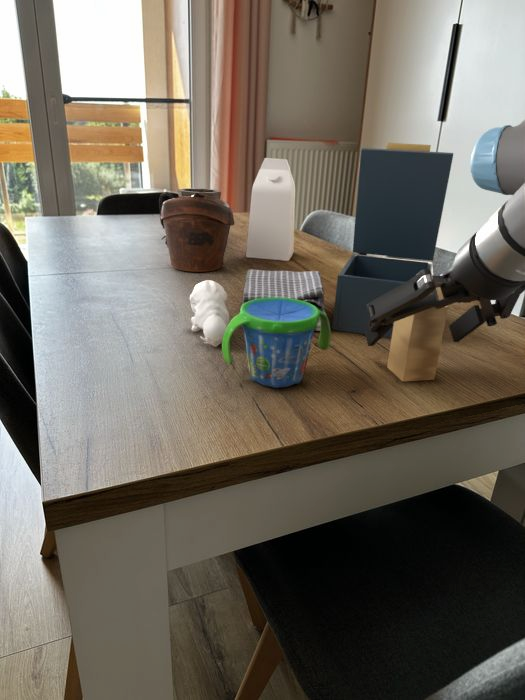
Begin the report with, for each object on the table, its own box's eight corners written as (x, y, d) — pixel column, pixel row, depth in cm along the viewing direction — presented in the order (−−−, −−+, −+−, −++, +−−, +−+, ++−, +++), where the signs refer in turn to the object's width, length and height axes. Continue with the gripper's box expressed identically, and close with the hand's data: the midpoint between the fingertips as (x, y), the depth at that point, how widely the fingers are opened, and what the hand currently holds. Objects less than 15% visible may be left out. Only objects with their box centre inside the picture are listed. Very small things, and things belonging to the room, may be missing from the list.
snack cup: (232, 401, 65) (234, 325, 61) (212, 367, 74) (212, 299, 70) (343, 388, 70) (351, 317, 66) (311, 358, 79) (317, 294, 75)
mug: (222, 236, 171) (223, 189, 165) (218, 244, 159) (218, 193, 153) (164, 233, 171) (162, 186, 166) (154, 240, 159) (153, 190, 153)
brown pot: (209, 255, 143) (210, 188, 136) (247, 271, 128) (250, 197, 121) (148, 260, 133) (145, 189, 127) (181, 279, 118) (180, 198, 111)
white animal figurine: (225, 276, 87) (239, 303, 77) (224, 322, 91) (236, 353, 81) (188, 276, 86) (197, 304, 76) (188, 323, 90) (196, 355, 80)
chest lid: (453, 154, 88) (454, 137, 95) (360, 149, 92) (368, 133, 99) (432, 260, 101) (434, 238, 108) (352, 252, 105) (359, 231, 112)
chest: (423, 342, 87) (434, 286, 84) (331, 329, 91) (337, 275, 88) (424, 310, 105) (432, 262, 101) (347, 300, 109) (352, 253, 105)
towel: (318, 303, 106) (321, 265, 103) (327, 334, 89) (331, 290, 86) (244, 299, 106) (246, 261, 103) (239, 330, 89) (240, 286, 86)
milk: (293, 252, 152) (300, 159, 142) (288, 260, 142) (295, 160, 132) (253, 249, 154) (257, 157, 144) (246, 257, 143) (249, 157, 134)
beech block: (416, 365, 78) (429, 296, 74) (434, 379, 74) (448, 306, 69) (386, 367, 77) (397, 296, 73) (402, 381, 72) (415, 307, 68)
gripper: (407, 286, 51) (335, 364, 70) (611, 283, 57) (494, 355, 76) (390, 223, 53) (326, 314, 72) (586, 226, 59) (479, 310, 78)
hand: (411, 335), depth 74 cm, fingers open, 13 cm apart
